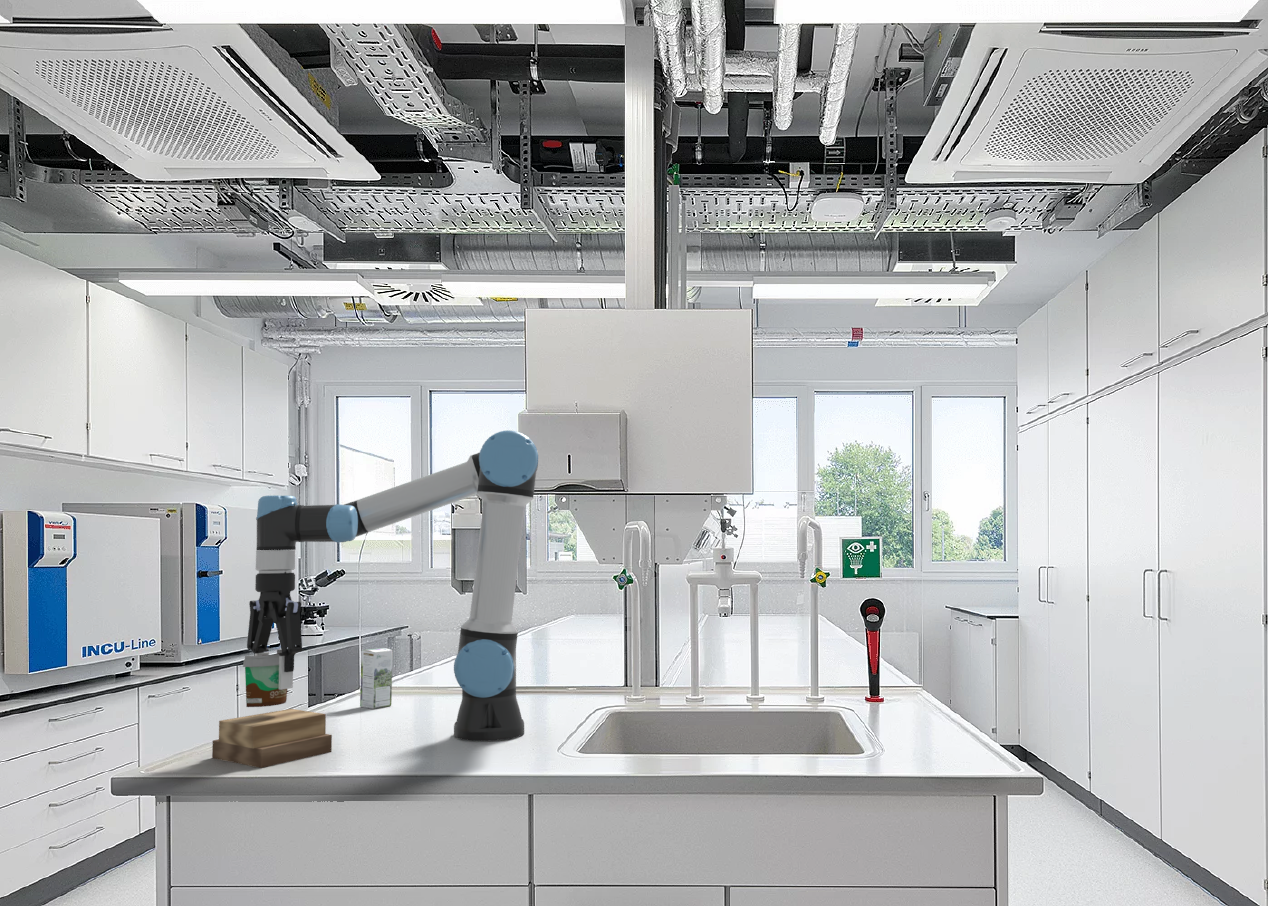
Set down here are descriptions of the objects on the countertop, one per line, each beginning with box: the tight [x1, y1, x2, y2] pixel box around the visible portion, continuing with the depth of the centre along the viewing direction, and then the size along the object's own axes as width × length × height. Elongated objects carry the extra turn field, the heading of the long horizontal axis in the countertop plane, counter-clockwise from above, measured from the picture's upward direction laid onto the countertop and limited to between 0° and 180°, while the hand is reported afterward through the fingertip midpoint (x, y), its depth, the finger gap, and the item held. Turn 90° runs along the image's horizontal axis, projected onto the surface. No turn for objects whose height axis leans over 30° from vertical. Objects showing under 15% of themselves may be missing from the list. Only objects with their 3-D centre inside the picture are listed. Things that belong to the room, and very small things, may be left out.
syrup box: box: [359, 647, 394, 710], centre depth 250 cm, size 6×6×14 cm
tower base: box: [211, 733, 333, 769], centre depth 195 cm, size 16×16×4 cm
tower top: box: [218, 708, 327, 748], centre depth 195 cm, size 12×16×4 cm
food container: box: [242, 649, 288, 708], centre depth 196 cm, size 12×6×10 cm, turn 168°
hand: (273, 687), depth 196 cm, fingers closed on food container, 7 cm apart
